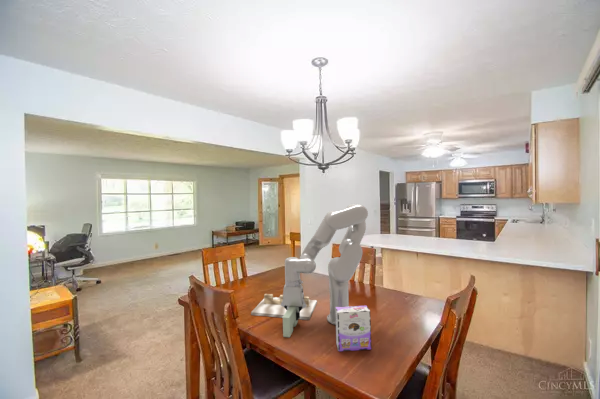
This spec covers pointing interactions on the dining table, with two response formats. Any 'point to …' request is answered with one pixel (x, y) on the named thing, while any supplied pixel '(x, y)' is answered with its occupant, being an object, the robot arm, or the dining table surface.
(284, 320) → the cross piece
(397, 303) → the dining table surface
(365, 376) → the dining table surface
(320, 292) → the dining table surface
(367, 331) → the candy box
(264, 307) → the white rectangular board
